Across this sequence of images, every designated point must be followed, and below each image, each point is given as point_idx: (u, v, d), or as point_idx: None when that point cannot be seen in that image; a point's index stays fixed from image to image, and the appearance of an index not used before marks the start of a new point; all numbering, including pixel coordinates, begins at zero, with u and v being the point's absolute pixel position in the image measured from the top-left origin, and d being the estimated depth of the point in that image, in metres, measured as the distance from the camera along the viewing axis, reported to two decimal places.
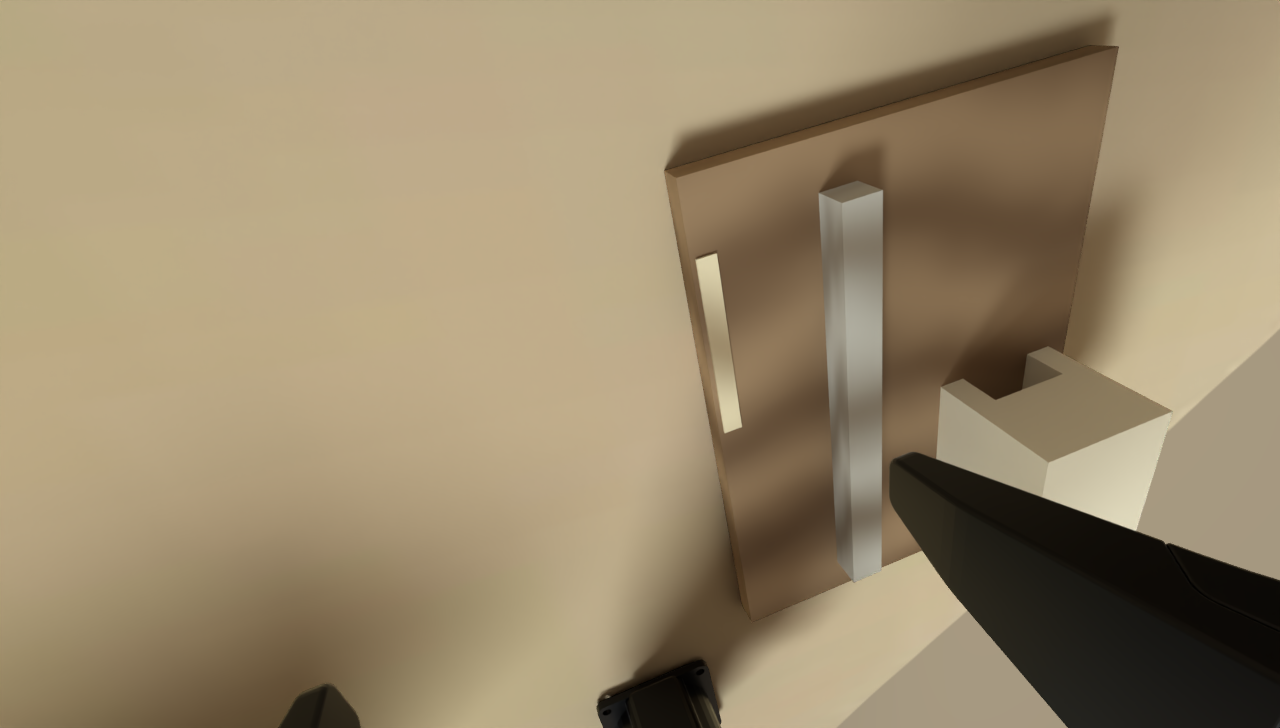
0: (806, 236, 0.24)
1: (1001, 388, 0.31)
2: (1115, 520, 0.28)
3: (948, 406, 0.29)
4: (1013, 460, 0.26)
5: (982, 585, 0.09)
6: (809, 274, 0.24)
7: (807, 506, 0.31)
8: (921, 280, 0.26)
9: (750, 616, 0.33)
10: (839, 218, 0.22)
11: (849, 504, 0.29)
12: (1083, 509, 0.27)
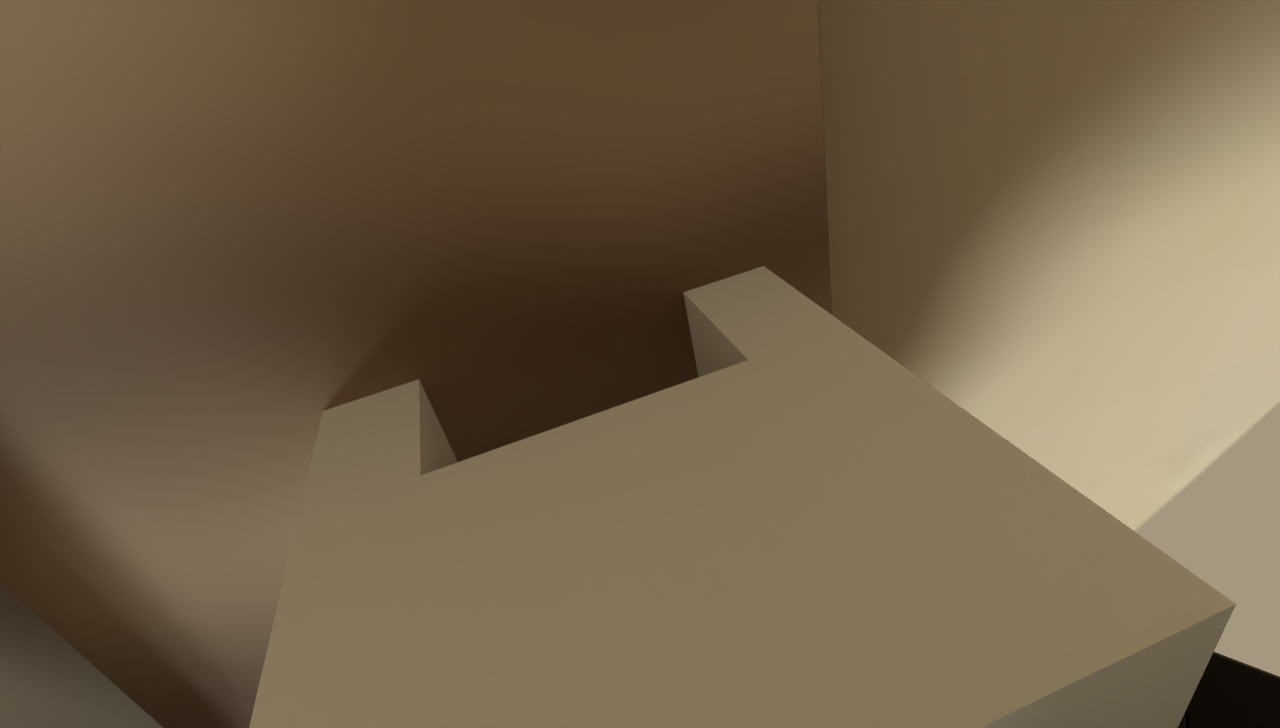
0: None
1: None
2: None
3: None
4: None
5: None
6: None
7: None
8: None
9: None
10: None
11: None
12: None
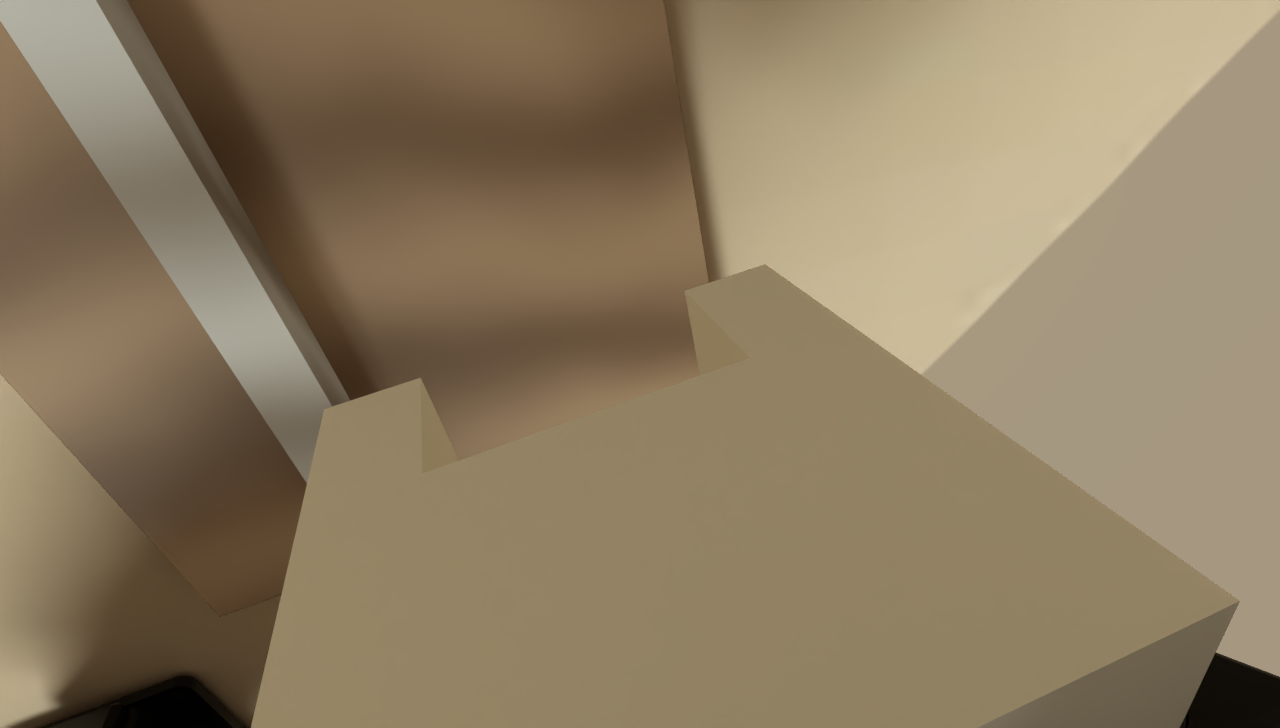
0: None
1: (574, 204, 0.17)
2: None
3: None
4: None
5: None
6: None
7: (225, 412, 0.17)
8: None
9: (214, 606, 0.20)
10: None
11: (255, 401, 0.16)
12: None
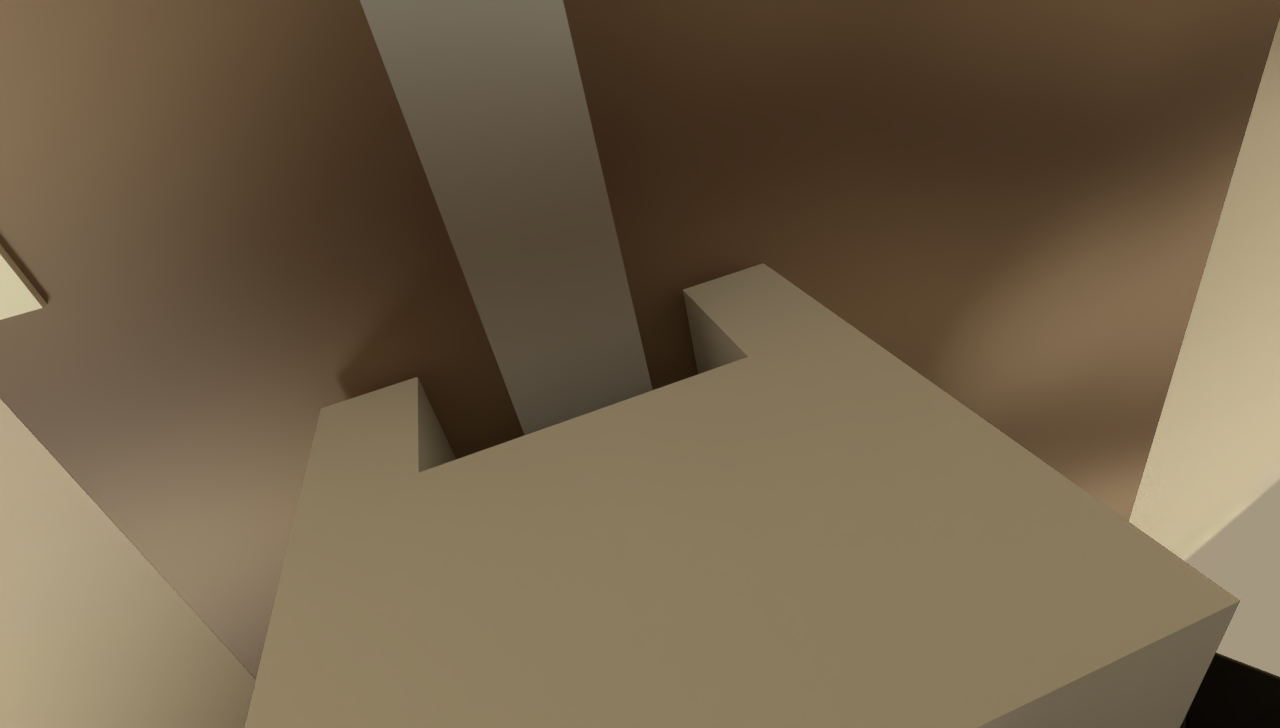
0: None
1: (1065, 241, 0.11)
2: None
3: None
4: None
5: None
6: None
7: None
8: None
9: None
10: None
11: None
12: None
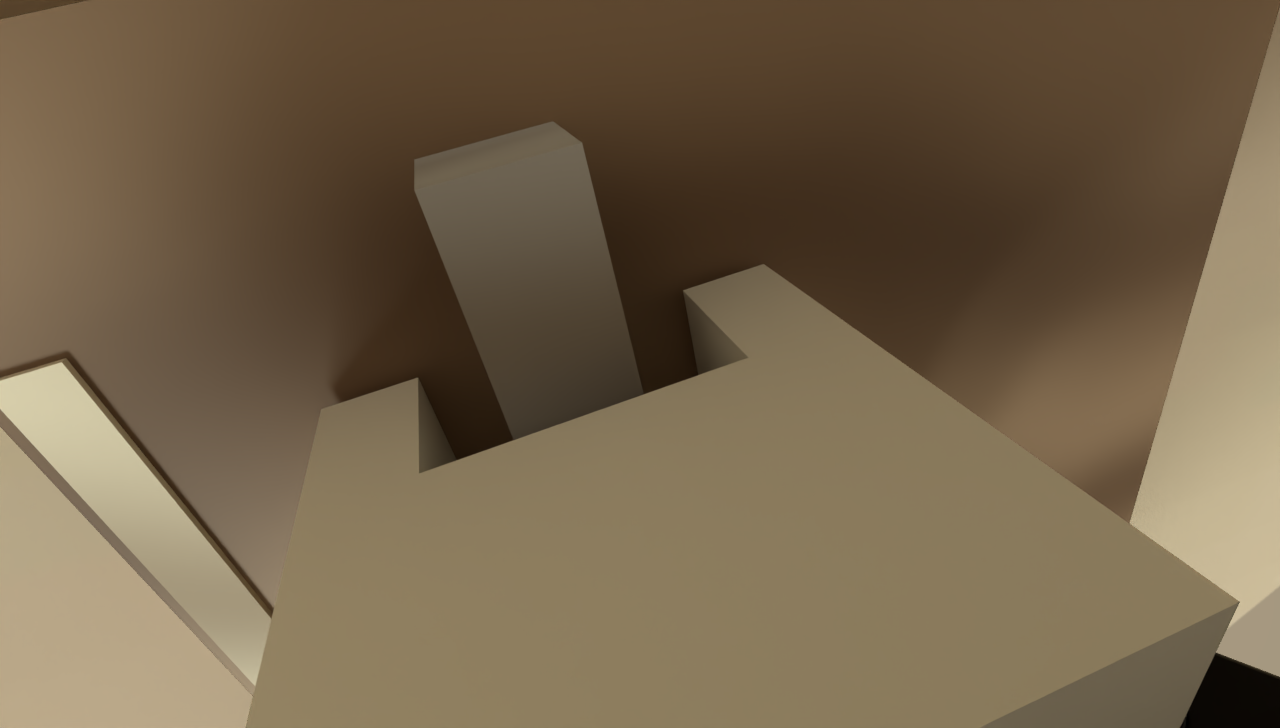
0: (414, 296, 0.08)
1: None
2: None
3: None
4: None
5: None
6: (461, 399, 0.09)
7: None
8: None
9: None
10: (438, 245, 0.06)
11: None
12: None
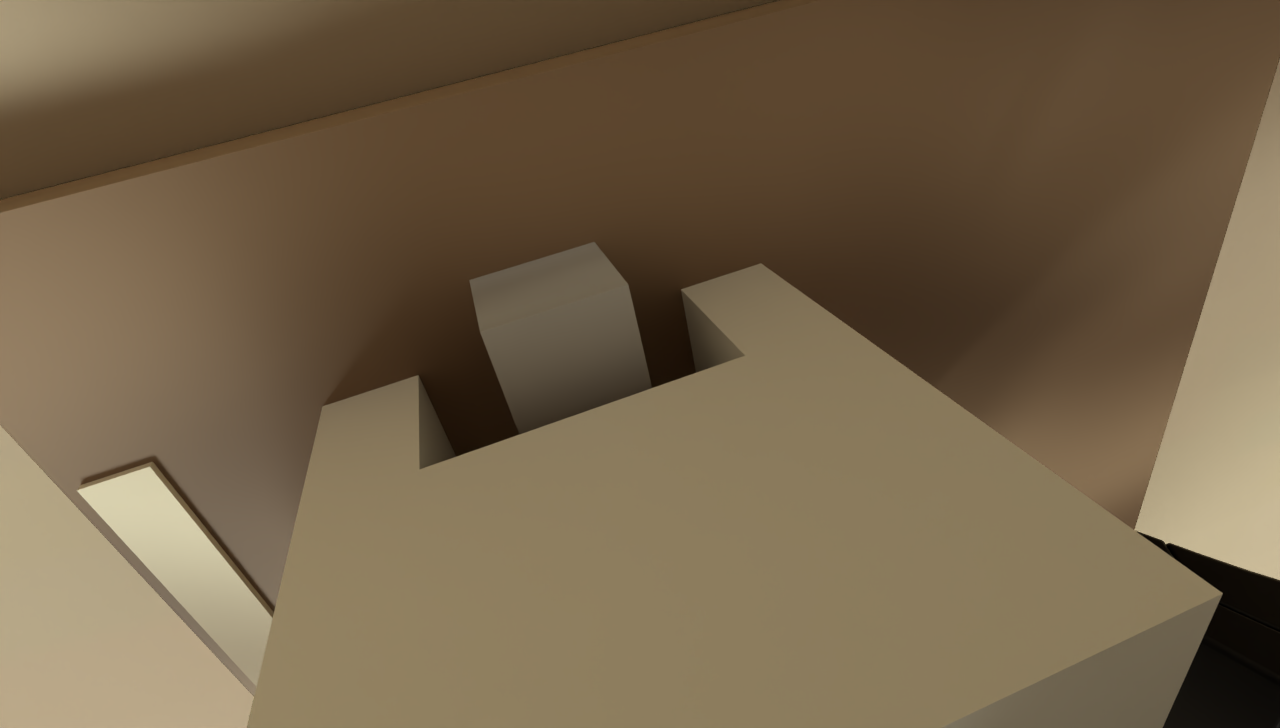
0: (464, 395, 0.08)
1: None
2: None
3: None
4: None
5: None
6: None
7: None
8: None
9: None
10: (497, 372, 0.07)
11: None
12: None
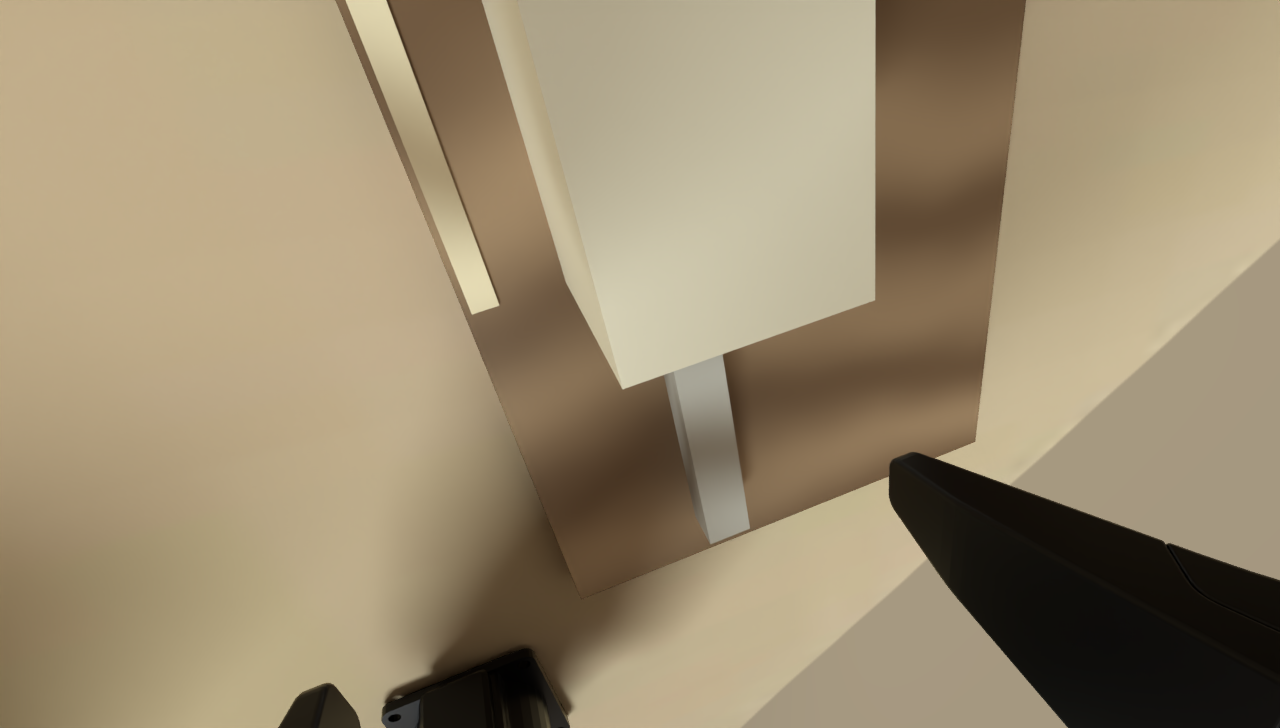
0: None
1: (912, 269, 0.22)
2: (807, 214, 0.13)
3: None
4: (511, 22, 0.11)
5: (982, 585, 0.09)
6: None
7: (635, 436, 0.22)
8: None
9: (578, 591, 0.25)
10: None
11: (685, 430, 0.20)
12: (700, 157, 0.11)
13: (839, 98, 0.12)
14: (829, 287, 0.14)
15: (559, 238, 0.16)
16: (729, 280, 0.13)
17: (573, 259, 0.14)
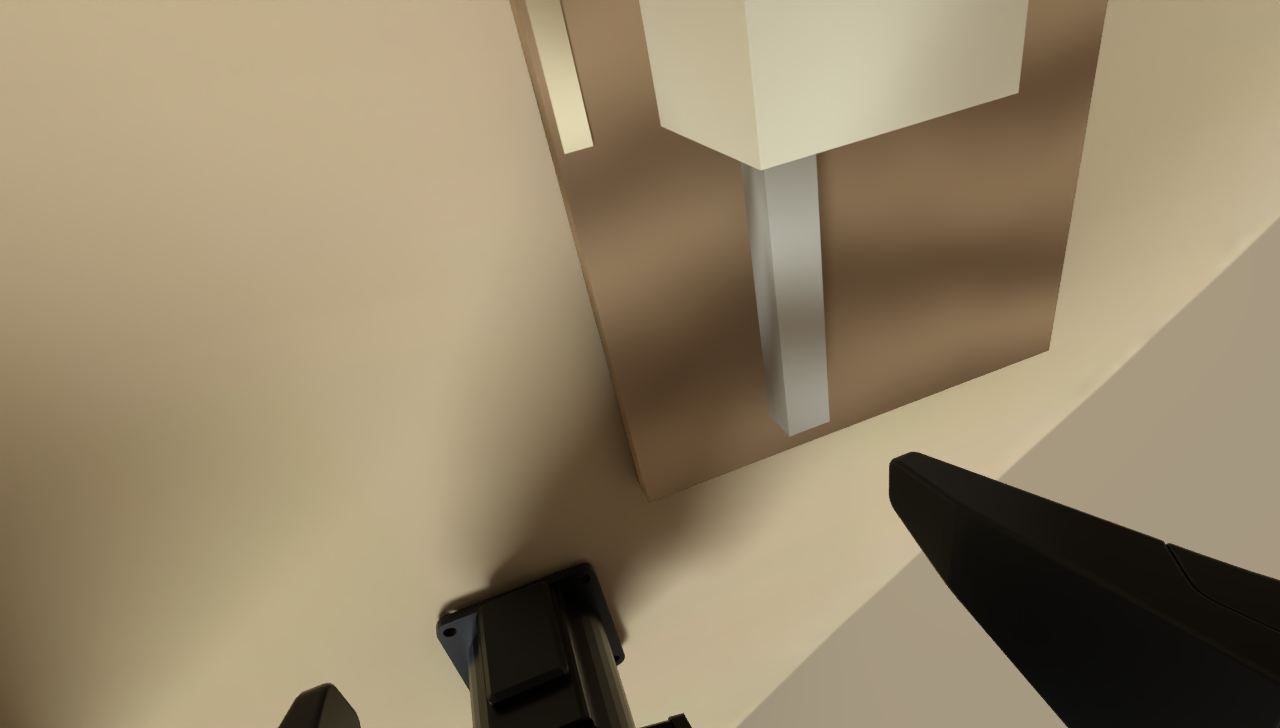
0: None
1: (1002, 143, 0.21)
2: None
3: None
4: None
5: (982, 585, 0.09)
6: None
7: (716, 314, 0.21)
8: None
9: (646, 493, 0.24)
10: None
11: (774, 298, 0.20)
12: None
13: None
14: (976, 69, 0.13)
15: (671, 49, 0.15)
16: (880, 45, 0.12)
17: (700, 46, 0.13)
